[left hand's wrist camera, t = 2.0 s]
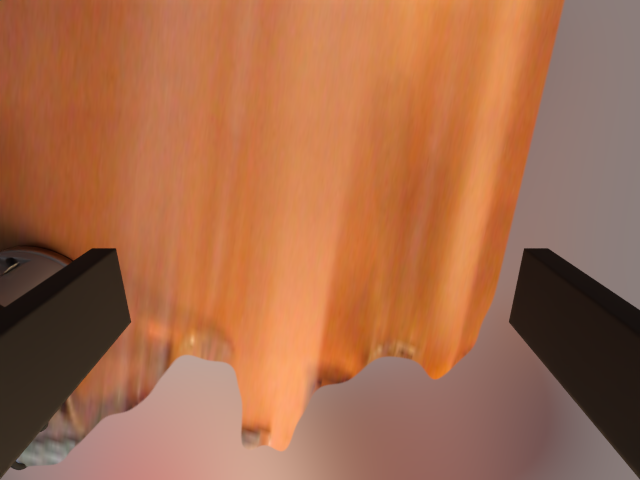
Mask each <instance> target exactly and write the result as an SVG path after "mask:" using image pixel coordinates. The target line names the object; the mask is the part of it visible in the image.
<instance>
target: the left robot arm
mask: <svg viewBox="0 0 640 480" xmlns="http://www.w3.org/2000/svg"><path fill="white" fill-rule="evenodd" d="M130 323H131V319H130V315H129V310H128V305H127V300H126V295H125V290H124V286H123V281H122V276H121V271H120V266H119V261H118V256H117V252H116V248H92V249H91V250H89V251H88V252H86V253H85V254H83V255H82V256H80V257H79V258H77V259H76V260H74V261H71V260H70V259H68V258H66V257H64V256H62V255H60V254H58V253H56V252H53V251H50V250H47V249H43V248H38V247H30V246H20V247H13V248H9V249H5V250H3V251H0V479H1V478H2V476H3V475H4V474H5V473H6V472H7V470H8V469H9V468H10V467H12V468H13V469H16V470H22V469H25V468H26V467H28V466H25V465H24V464H19V463H17V462H16V460H17V458H18V457H19V456H20V455H21V454H22V452H23V451H24V450H25V449H26V448H27V446H28V445H29V444H30V443H31V442H32V440H33V439H34V438H35V437H36V436H37V434H38V433H39V432H42V431H43V430H45V429H46V428H47V426H48V421H49V420H50V419H51V418H52V416H53V415H54V414H55V413H56V412H57V410H58V409H59V408H60V407H61V406H62V404H63V403H64V402H65V401H66V400H67V398H68V397H69V396H70V395H71V394H72V392H73V391H74V390H75V389H76V388H77V386H78V385H79V384H80V383H81V382H82V380H83V379H84V378H85V377H86V376H87V374H88V373H89V372H90V371H91V370H92V368H93V367H94V366H95V365H96V364H97V362H98V361H99V360H100V359H101V358H102V356H103V355H104V354H105V353H106V352H107V350H108V349H109V348H110V347H111V345H112V344H113V343H114V342H115V341H116V339H117V338H118V337H119V336H120V335H121V333H122V332H123V331H124V330H125V329H126V327H127V326H128V325H129V324H130ZM509 323H510V324H511V325H512V326H513V327H514V329H515V330H516V331H517V332H518V333H519V335H520V336H521V337H522V338H523V339H524V341H525V342H526V343H527V344H528V346H529V347H530V348H531V349H532V350H533V352H534V353H535V354H536V355H537V356H538V357H539V359H540V360H541V361H542V362H543V364H544V365H545V366H546V367H547V368H548V369H549V371H550V372H551V373H552V374H553V375H554V377H555V378H556V379H557V380H558V381H559V383H560V384H561V385H562V386H563V388H564V389H565V390H566V391H567V392H568V394H569V395H570V396H571V397H572V398H573V400H574V401H575V402H576V403H577V404H578V406H579V407H580V408H581V409H582V410H583V412H584V413H585V414H586V415H587V416H588V417H589V419H590V420H591V421H592V422H593V423H594V425H595V426H596V427H597V428H598V430H599V431H600V432H601V433H602V434H603V436H604V437H605V438H606V439H607V440H608V442H609V443H610V444H611V445H612V446H613V448H614V449H615V450H616V451H617V452H618V454H619V455H620V456H621V457H622V458H623V460H624V461H625V462H626V463H627V464H628V466H629V467H630V468H631V469H632V470H633V472H634V473H635V474H636V475H637V476H638V478H639V479H640V310H639V309H637V308H636V307H634V306H633V305H631V304H630V303H628V302H627V301H625V300H624V299H622V298H621V297H619V296H618V295H616V294H615V293H613V292H612V291H610V290H609V289H607V288H606V287H604V286H603V285H601V284H600V283H599V282H597V281H596V280H594V279H593V278H591V277H590V276H588V275H587V274H585V273H584V272H582V271H581V270H579V269H578V268H576V267H575V266H573V265H572V264H570V263H569V262H567V261H566V260H564V259H563V258H561V257H560V256H558V255H557V254H555V253H554V252H552V251H551V250H549V249H546V248H541V249H540V248H538V249H535V248H533V249H532V248H529V249H528V248H527V249H524V252H523V257H522V261H521V266H520V271H519V276H518V281H517V286H516V291H515V295H514V300H513V305H512V310H511V315H510V319H509Z"/></svg>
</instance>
